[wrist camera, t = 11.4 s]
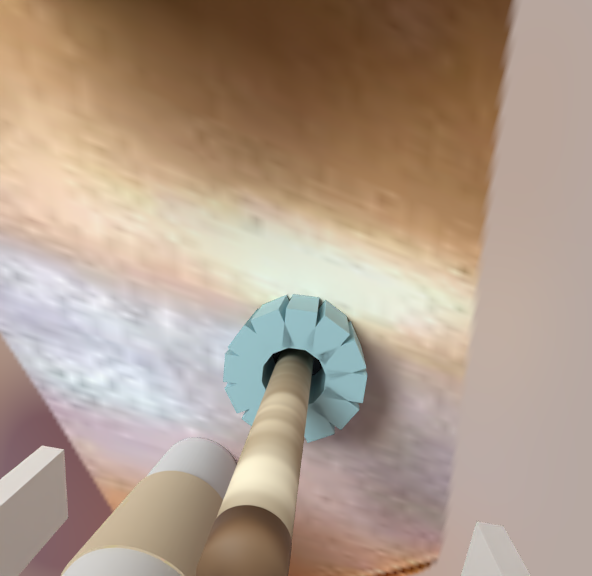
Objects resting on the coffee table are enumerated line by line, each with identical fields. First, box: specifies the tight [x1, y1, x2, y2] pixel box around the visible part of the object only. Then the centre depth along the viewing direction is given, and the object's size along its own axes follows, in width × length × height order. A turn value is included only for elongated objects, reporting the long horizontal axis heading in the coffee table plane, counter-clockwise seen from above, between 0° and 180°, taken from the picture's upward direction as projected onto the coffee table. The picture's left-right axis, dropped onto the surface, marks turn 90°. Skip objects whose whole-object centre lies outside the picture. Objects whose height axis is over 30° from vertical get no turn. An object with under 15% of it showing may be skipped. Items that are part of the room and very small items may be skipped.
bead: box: [223, 294, 367, 443], centre depth 23 cm, size 9×9×4 cm
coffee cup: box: [61, 438, 237, 576], centre depth 20 cm, size 9×9×15 cm
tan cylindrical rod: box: [196, 348, 314, 576], centre depth 17 cm, size 2×2×16 cm
